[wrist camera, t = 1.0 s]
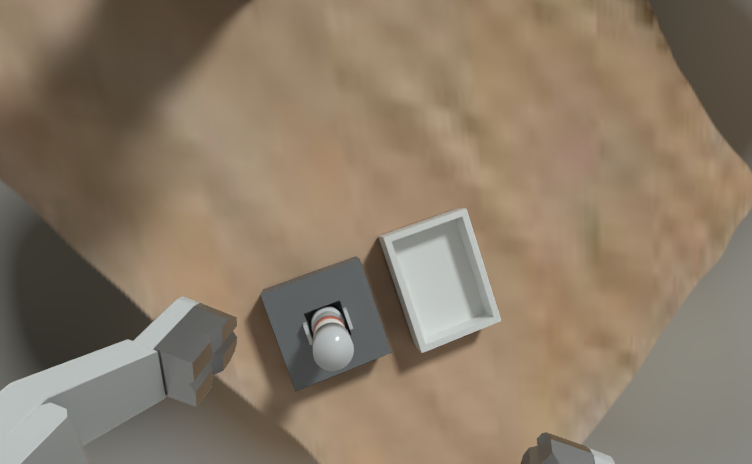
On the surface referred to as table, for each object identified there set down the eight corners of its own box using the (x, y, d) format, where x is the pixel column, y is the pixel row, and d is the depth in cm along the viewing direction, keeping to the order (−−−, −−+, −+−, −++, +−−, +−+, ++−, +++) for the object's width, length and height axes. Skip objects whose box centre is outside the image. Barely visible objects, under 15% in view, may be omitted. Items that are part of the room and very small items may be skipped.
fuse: (306, 310, 48) (307, 339, 36) (336, 299, 48) (346, 324, 37) (317, 339, 48) (320, 377, 36) (346, 327, 49) (359, 361, 37)
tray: (378, 236, 50) (383, 237, 47) (455, 209, 52) (466, 208, 48) (414, 344, 51) (422, 353, 48) (488, 314, 53) (501, 320, 50)
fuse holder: (263, 289, 48) (259, 296, 43) (356, 256, 50) (361, 259, 45) (296, 379, 49) (295, 395, 44) (385, 343, 51) (393, 355, 46)
